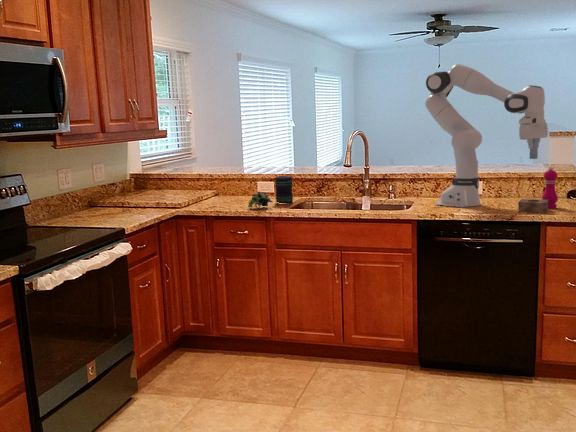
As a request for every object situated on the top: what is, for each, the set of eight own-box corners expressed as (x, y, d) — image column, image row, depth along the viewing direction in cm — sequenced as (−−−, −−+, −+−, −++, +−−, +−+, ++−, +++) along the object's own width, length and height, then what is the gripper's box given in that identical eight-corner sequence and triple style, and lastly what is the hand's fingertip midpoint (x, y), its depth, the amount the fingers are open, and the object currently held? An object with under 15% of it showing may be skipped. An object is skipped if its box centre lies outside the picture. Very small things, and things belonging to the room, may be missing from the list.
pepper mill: (559, 208, 290) (560, 167, 287) (543, 209, 292) (544, 167, 288) (555, 206, 297) (557, 166, 294) (540, 206, 299) (541, 166, 295)
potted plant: (263, 217, 333) (275, 199, 332) (259, 217, 322) (271, 198, 321) (247, 205, 335) (259, 187, 334) (242, 205, 324) (254, 186, 323)
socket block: (518, 212, 286) (518, 201, 285) (521, 209, 294) (521, 198, 293) (545, 213, 280) (545, 202, 279) (547, 210, 288) (548, 199, 288)
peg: (528, 158, 295) (528, 138, 293) (532, 158, 297) (532, 137, 295) (535, 158, 292) (535, 138, 290) (538, 158, 294) (539, 137, 292)
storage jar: (282, 201, 351) (281, 176, 349) (296, 202, 346) (295, 176, 343) (272, 204, 344) (271, 178, 341) (286, 204, 338) (285, 178, 335)
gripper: (539, 118, 300) (538, 146, 302) (516, 120, 287) (516, 149, 290) (551, 118, 295) (550, 146, 297) (529, 120, 283) (528, 149, 285)
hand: (533, 148), depth 293 cm, fingers closed on peg, 4 cm apart
